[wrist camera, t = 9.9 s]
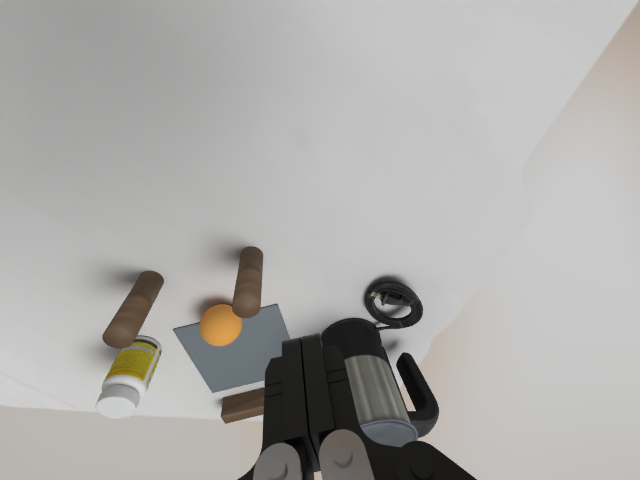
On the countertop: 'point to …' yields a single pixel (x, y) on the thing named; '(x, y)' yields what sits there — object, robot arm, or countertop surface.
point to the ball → (220, 325)
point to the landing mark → (237, 350)
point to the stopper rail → (243, 406)
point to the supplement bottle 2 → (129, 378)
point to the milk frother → (384, 371)
